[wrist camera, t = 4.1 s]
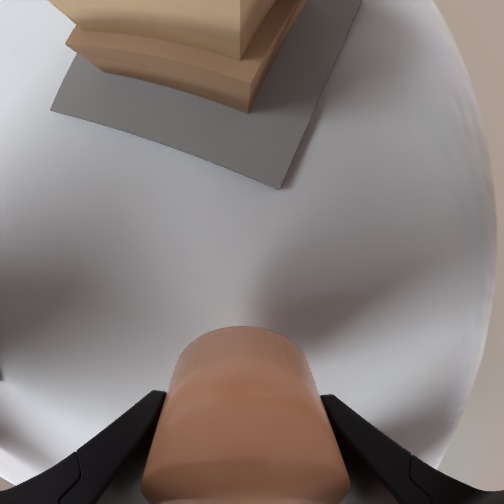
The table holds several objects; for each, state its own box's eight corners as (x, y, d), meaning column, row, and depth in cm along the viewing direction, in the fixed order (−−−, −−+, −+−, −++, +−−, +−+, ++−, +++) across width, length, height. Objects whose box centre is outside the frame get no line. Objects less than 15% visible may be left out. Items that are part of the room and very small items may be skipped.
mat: (277, 189, 10) (279, 189, 9) (55, 112, 8) (50, 110, 8) (360, 0, 8) (363, -4, 7) (163, -51, 6) (161, -55, 6)
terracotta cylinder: (274, 435, 9) (287, 534, 5) (161, 404, 8) (131, 508, 4) (334, 350, 8) (392, 461, 4) (198, 304, 8) (160, 430, 3)
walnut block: (247, 114, 9) (250, 83, 6) (103, 72, 8) (64, 43, 5) (307, 0, 7) (325, -43, 4) (175, -31, 7) (162, -72, 4)
